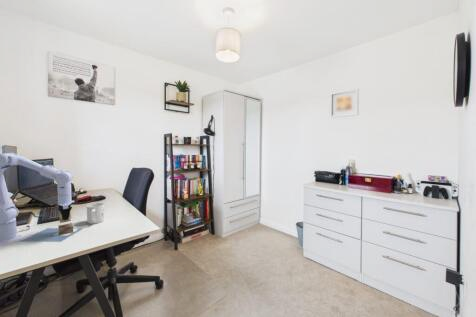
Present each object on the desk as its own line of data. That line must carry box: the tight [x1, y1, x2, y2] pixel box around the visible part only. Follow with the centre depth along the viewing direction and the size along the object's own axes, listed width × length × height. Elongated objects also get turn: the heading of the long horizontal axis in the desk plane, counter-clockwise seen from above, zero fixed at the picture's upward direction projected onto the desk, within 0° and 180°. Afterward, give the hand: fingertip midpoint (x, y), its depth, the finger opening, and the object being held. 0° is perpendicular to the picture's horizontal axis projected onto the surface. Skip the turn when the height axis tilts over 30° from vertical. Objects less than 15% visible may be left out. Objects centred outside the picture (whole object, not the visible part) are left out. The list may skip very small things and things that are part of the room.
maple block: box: [59, 211, 72, 224], centre depth 112 cm, size 4×4×5 cm
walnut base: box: [57, 222, 74, 235], centre depth 113 cm, size 6×6×4 cm
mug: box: [86, 202, 105, 225], centre depth 127 cm, size 12×9×11 cm
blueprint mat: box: [19, 227, 84, 243], centre depth 110 cm, size 20×16×1 cm
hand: (65, 218), depth 112 cm, fingers closed on maple block, 4 cm apart
